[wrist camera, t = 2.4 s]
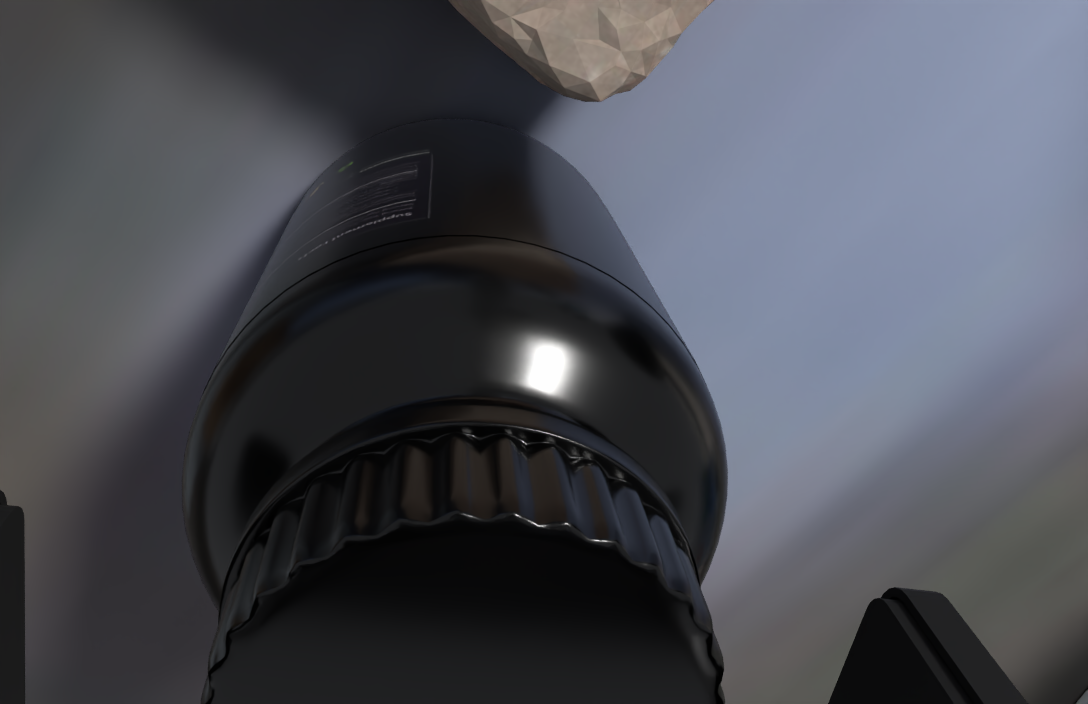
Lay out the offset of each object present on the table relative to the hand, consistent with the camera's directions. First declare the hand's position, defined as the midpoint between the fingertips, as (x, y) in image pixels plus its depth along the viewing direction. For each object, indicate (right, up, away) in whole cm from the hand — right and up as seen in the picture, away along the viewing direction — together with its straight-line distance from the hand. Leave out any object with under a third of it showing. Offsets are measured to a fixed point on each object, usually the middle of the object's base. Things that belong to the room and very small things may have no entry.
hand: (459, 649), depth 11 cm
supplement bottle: (-1, +5, +9) cm, 10 cm away
